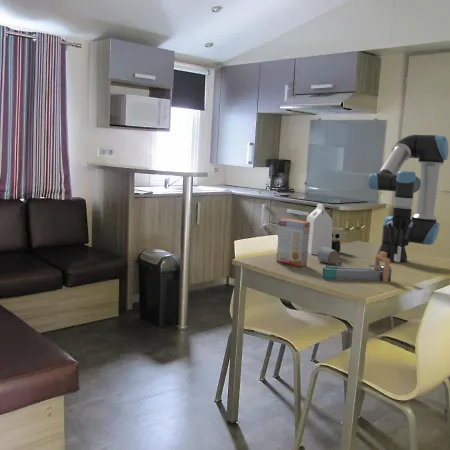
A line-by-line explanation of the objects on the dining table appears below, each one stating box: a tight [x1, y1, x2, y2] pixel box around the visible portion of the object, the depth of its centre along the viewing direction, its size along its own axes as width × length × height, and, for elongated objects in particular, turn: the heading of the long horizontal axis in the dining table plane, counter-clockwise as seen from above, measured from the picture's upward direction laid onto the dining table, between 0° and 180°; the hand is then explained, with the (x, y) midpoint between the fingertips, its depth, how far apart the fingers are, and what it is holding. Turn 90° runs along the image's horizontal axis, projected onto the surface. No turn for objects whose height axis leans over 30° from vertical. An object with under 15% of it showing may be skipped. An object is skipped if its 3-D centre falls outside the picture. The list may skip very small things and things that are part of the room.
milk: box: [305, 203, 333, 256], centre depth 277 cm, size 12×12×26 cm
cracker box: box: [276, 218, 310, 268], centre depth 245 cm, size 14×6×21 cm, turn 47°
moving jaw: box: [325, 263, 392, 270], centre depth 224 cm, size 27×7×6 cm, turn 94°
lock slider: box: [373, 252, 391, 283], centre depth 224 cm, size 2×10×12 cm, turn 8°
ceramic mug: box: [316, 247, 341, 265], centre depth 253 cm, size 11×8×8 cm
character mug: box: [331, 226, 347, 253], centre depth 283 cm, size 11×7×13 cm, turn 62°
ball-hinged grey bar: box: [322, 267, 393, 283], centre depth 222 cm, size 30×5×5 cm, turn 98°
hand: (396, 261), depth 225 cm, fingers closed
